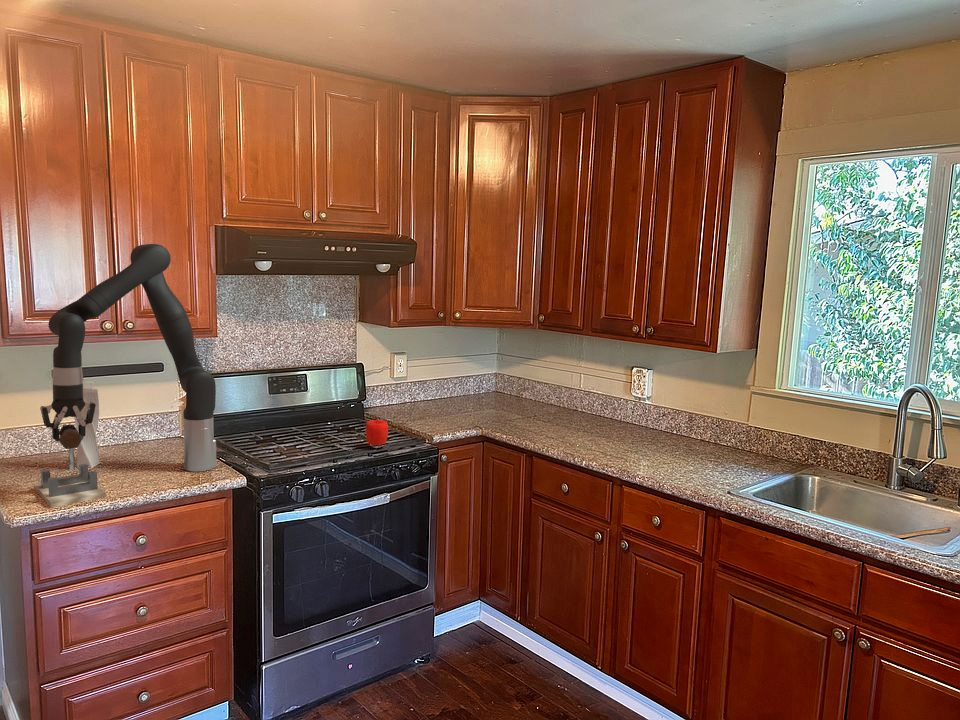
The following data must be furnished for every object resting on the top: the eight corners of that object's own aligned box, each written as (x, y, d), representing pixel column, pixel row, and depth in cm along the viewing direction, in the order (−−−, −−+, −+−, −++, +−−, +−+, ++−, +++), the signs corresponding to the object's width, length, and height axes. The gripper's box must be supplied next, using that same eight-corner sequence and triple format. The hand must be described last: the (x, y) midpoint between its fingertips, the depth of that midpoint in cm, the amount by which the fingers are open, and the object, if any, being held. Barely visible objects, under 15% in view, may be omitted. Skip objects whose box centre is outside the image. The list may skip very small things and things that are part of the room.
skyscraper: (81, 463, 235) (78, 380, 231) (106, 463, 235) (103, 381, 231) (67, 470, 226) (64, 385, 222) (93, 471, 227) (90, 386, 223)
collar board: (86, 479, 217) (86, 475, 217) (106, 497, 203) (106, 492, 203) (34, 488, 208) (33, 483, 207) (50, 507, 193) (50, 502, 193)
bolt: (70, 441, 210) (74, 452, 197) (53, 434, 207) (55, 445, 195) (81, 424, 211) (85, 434, 198) (64, 417, 208) (67, 426, 196)
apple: (369, 443, 273) (370, 416, 272) (391, 446, 272) (391, 418, 270) (361, 449, 265) (362, 421, 263) (383, 451, 263) (384, 423, 262)
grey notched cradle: (87, 479, 213) (86, 463, 212) (97, 489, 205) (97, 472, 204) (41, 486, 205) (40, 470, 204) (50, 497, 197) (49, 480, 196)
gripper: (91, 378, 209) (92, 433, 211) (35, 381, 199) (37, 439, 201) (99, 382, 203) (100, 439, 205) (42, 386, 193) (43, 445, 196)
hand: (69, 439), depth 203 cm, fingers closed on bolt, 5 cm apart
